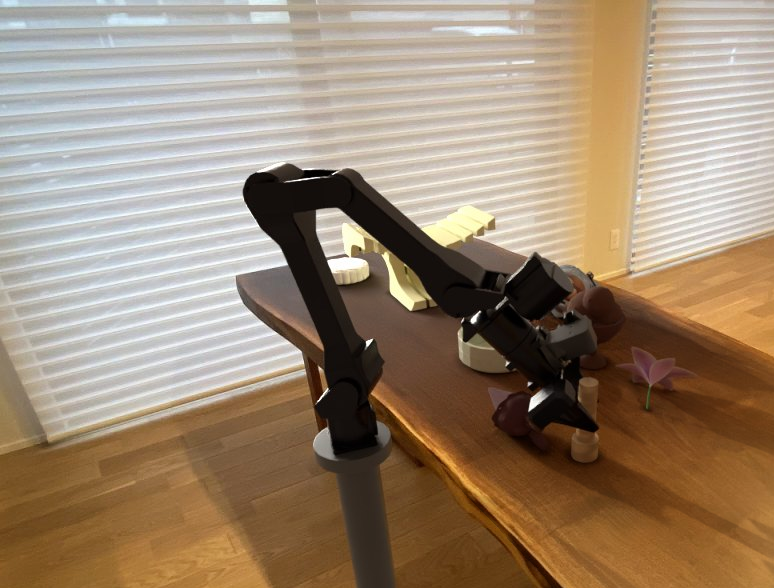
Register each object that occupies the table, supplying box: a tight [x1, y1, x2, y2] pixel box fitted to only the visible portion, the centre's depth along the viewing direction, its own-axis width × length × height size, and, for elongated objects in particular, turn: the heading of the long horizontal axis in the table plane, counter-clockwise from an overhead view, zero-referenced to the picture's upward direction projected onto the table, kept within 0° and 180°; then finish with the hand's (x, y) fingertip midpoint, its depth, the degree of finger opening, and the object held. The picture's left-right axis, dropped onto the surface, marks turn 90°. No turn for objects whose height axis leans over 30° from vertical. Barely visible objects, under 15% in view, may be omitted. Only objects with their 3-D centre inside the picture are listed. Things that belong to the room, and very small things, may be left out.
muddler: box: [570, 376, 600, 464], centre depth 85 cm, size 4×4×12 cm
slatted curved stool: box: [341, 205, 496, 312], centre depth 140 cm, size 30×16×18 cm, turn 120°
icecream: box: [487, 386, 549, 451], centre depth 92 cm, size 7×7×15 cm
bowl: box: [457, 326, 517, 374], centre depth 114 cm, size 14×14×5 cm
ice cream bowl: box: [563, 285, 627, 370], centre depth 110 cm, size 11×11×15 cm
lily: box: [614, 346, 699, 410], centre depth 100 cm, size 12×12×10 cm
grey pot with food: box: [550, 261, 601, 319], centre depth 129 cm, size 15×12×14 cm
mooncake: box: [327, 256, 370, 286], centre depth 154 cm, size 12×12×4 cm
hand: (596, 416), depth 85 cm, fingers open, 7 cm apart
